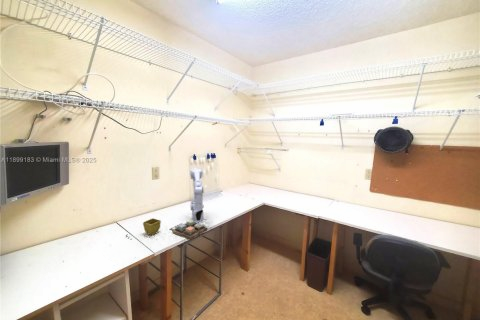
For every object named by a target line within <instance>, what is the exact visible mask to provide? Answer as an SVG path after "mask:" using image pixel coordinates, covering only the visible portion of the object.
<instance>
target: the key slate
mask: <svg viewBox="0 0 480 320" xmlns="http://www.w3.org/2000/svg"><path fill="white" fill-rule="evenodd" d="M179 224H180V225H179ZM179 224H177V225H178V229H180V230H183V229H185V228H186V225H184V224H185V223H182V224H181V223H179Z"/></svg>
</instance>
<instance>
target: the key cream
mask: <svg viewBox="0 0 480 320" xmlns="http://www.w3.org/2000/svg"><path fill="white" fill-rule="evenodd" d="M203 225H204V224H201V223H200V222H198V223H197V224H196V225H194V227H197V228H200V227H202V226H203Z"/></svg>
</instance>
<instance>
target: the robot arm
mask: <svg viewBox="0 0 480 320" xmlns="http://www.w3.org/2000/svg"><path fill="white" fill-rule="evenodd" d="M189 174H190V179H191V180H192V182H193V199H191V201H190V205H189V207H190V211H191V219H190V220H194V221H195V223H197V224H198V223H200V222H201V221H203V220H205V218H204V210H203V209H204V208H205V207H204V204H203V199H204V198H203V197H204V196H203V195H204V186H203V184H202V183H203V182H202V180H201V179H202V177H203V168H190V170H189Z"/></svg>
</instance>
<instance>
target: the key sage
mask: <svg viewBox="0 0 480 320" xmlns="http://www.w3.org/2000/svg"><path fill="white" fill-rule="evenodd" d="M185 224H187V225H190V226H191V225H193V224H195V221H194V220H191V219H189V220H187V221H186V223H185Z"/></svg>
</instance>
